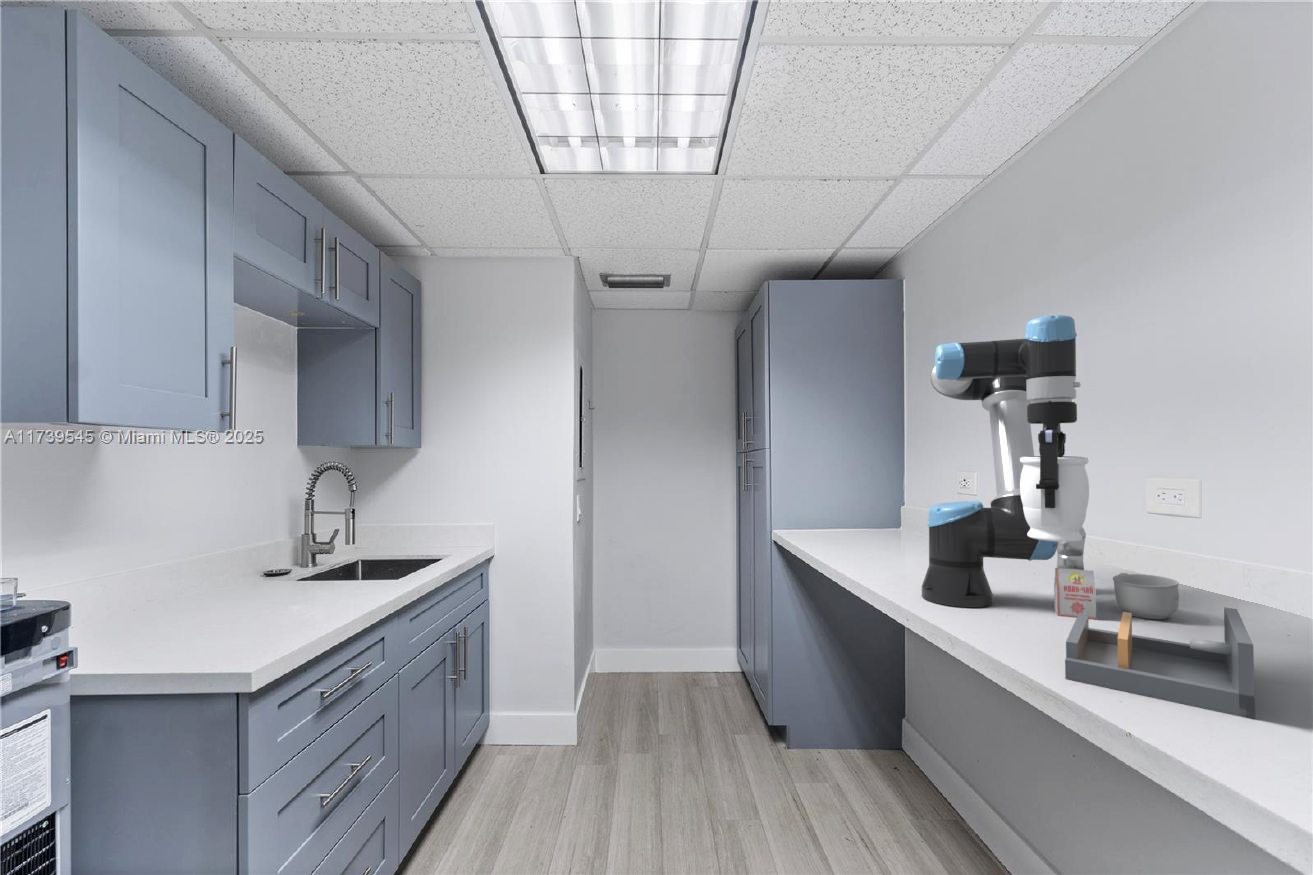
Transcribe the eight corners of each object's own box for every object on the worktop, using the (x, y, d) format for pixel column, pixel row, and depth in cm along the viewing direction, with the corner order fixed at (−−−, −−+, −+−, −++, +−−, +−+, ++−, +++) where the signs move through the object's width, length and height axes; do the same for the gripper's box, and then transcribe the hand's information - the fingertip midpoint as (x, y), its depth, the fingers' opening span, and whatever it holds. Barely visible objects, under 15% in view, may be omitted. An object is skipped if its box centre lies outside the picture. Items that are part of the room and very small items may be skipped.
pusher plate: (1118, 677, 89) (1117, 638, 89) (1123, 645, 103) (1122, 611, 103) (1128, 679, 88) (1127, 639, 88) (1132, 647, 102) (1131, 613, 102)
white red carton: (1054, 611, 128) (1053, 566, 128) (1092, 615, 125) (1091, 569, 125) (1057, 616, 125) (1056, 569, 125) (1096, 620, 122) (1095, 572, 122)
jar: (1103, 544, 99) (1102, 457, 99) (1038, 543, 101) (1036, 457, 101) (1069, 534, 110) (1068, 455, 110) (1010, 533, 111) (1009, 456, 112)
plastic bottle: (1048, 588, 148) (1046, 510, 148) (1072, 587, 149) (1070, 510, 149) (1068, 595, 141) (1067, 513, 142) (1093, 594, 142) (1092, 513, 142)
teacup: (1190, 625, 118) (1189, 586, 118) (1125, 620, 121) (1124, 582, 122) (1158, 607, 131) (1157, 571, 131) (1100, 603, 134) (1099, 568, 135)
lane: (1065, 678, 92) (1064, 615, 92) (1079, 642, 108) (1078, 588, 108) (1254, 719, 78) (1253, 644, 78) (1238, 670, 94) (1236, 608, 95)
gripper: (1072, 396, 94) (1075, 532, 94) (1079, 403, 112) (1081, 518, 112) (1019, 399, 99) (1021, 528, 99) (1033, 405, 117) (1035, 515, 117)
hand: (1053, 523), depth 105 cm, fingers closed on jar, 10 cm apart
